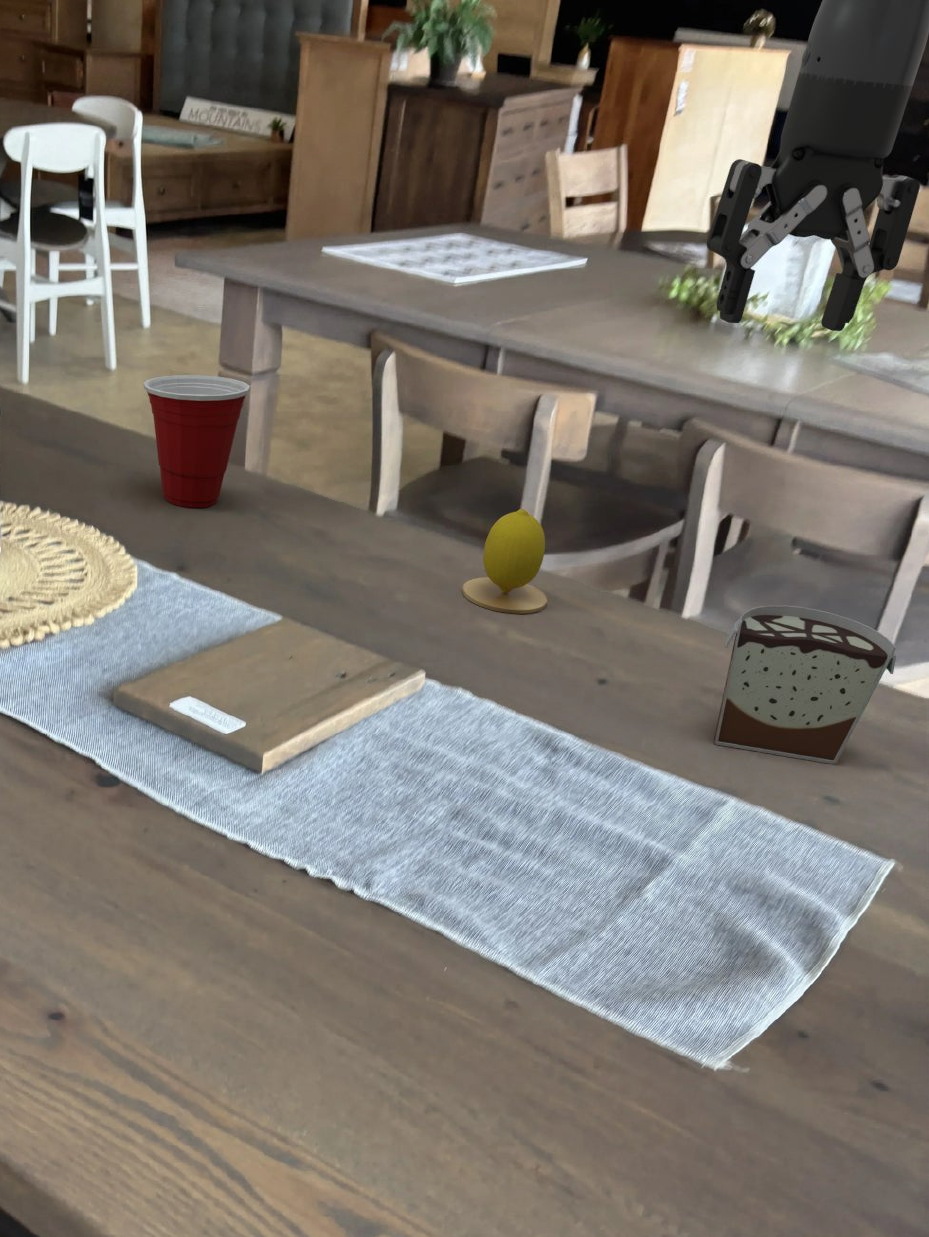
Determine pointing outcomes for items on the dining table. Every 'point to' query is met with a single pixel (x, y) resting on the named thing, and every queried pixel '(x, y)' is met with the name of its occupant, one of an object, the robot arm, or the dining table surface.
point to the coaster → (504, 597)
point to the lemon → (514, 550)
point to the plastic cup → (194, 433)
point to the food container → (799, 681)
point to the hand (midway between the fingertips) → (780, 325)
